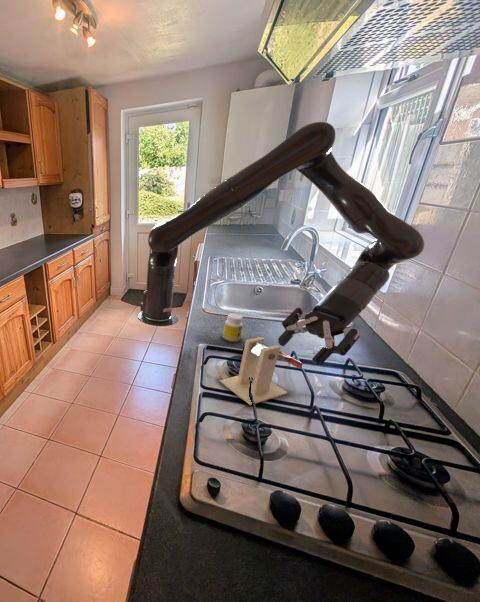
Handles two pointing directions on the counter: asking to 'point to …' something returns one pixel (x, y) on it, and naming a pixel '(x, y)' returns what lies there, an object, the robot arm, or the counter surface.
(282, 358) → the lever
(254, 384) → the bracket
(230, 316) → the supplement bottle
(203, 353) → the counter surface
